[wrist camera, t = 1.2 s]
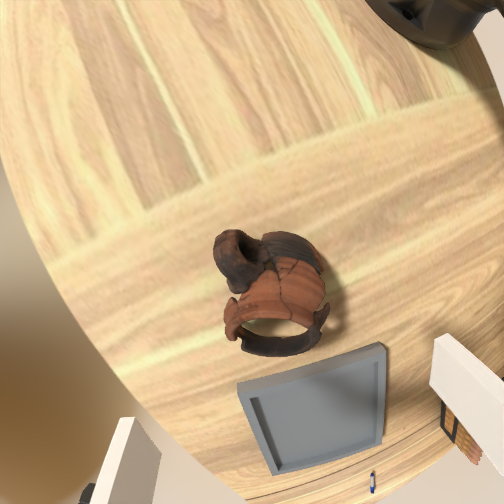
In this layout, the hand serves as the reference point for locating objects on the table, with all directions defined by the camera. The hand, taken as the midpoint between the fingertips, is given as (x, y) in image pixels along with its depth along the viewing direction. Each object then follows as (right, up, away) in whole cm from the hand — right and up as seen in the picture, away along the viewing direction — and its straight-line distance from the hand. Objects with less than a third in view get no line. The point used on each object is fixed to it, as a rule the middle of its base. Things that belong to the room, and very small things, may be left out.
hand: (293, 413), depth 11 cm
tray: (+7, -14, +21) cm, 26 cm away
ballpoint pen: (+21, -37, +28) cm, 51 cm away
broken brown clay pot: (-1, +4, +16) cm, 17 cm away
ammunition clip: (+30, -19, +24) cm, 43 cm away
